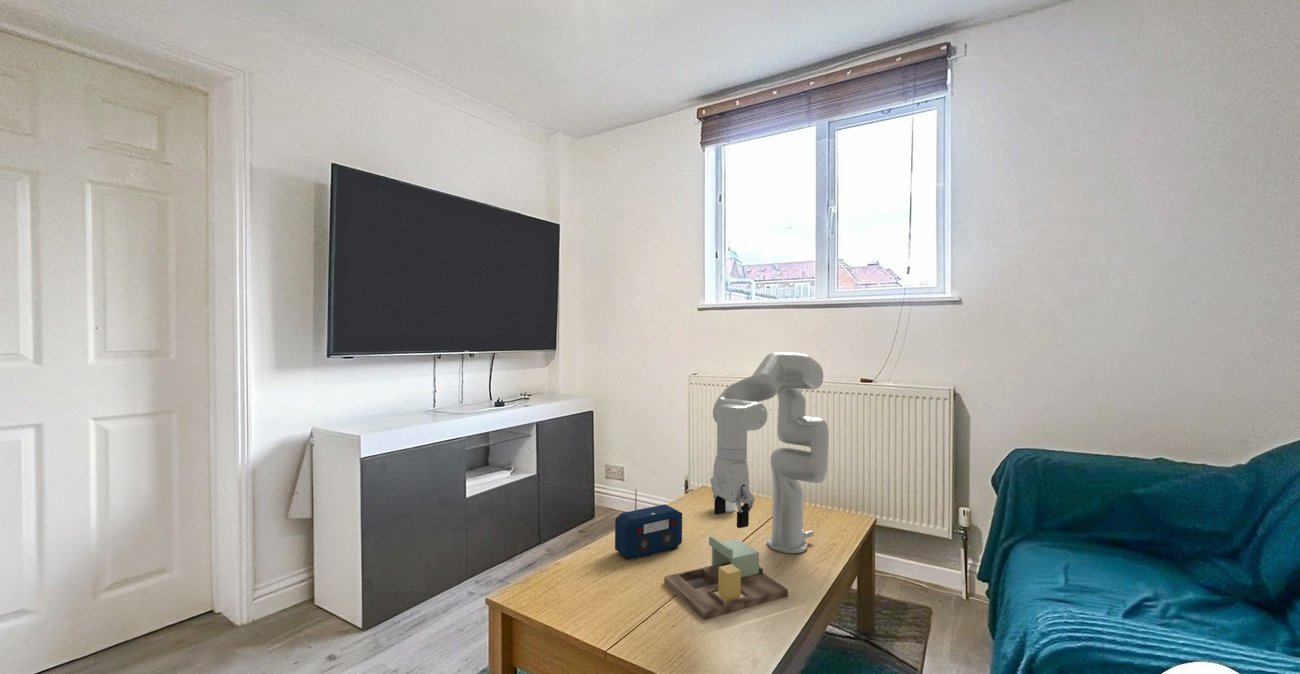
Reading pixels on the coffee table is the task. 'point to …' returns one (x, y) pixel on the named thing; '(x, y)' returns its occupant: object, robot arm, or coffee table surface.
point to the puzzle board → (708, 603)
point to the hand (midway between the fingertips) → (730, 520)
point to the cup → (730, 506)
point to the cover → (735, 555)
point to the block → (729, 582)
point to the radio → (648, 531)
